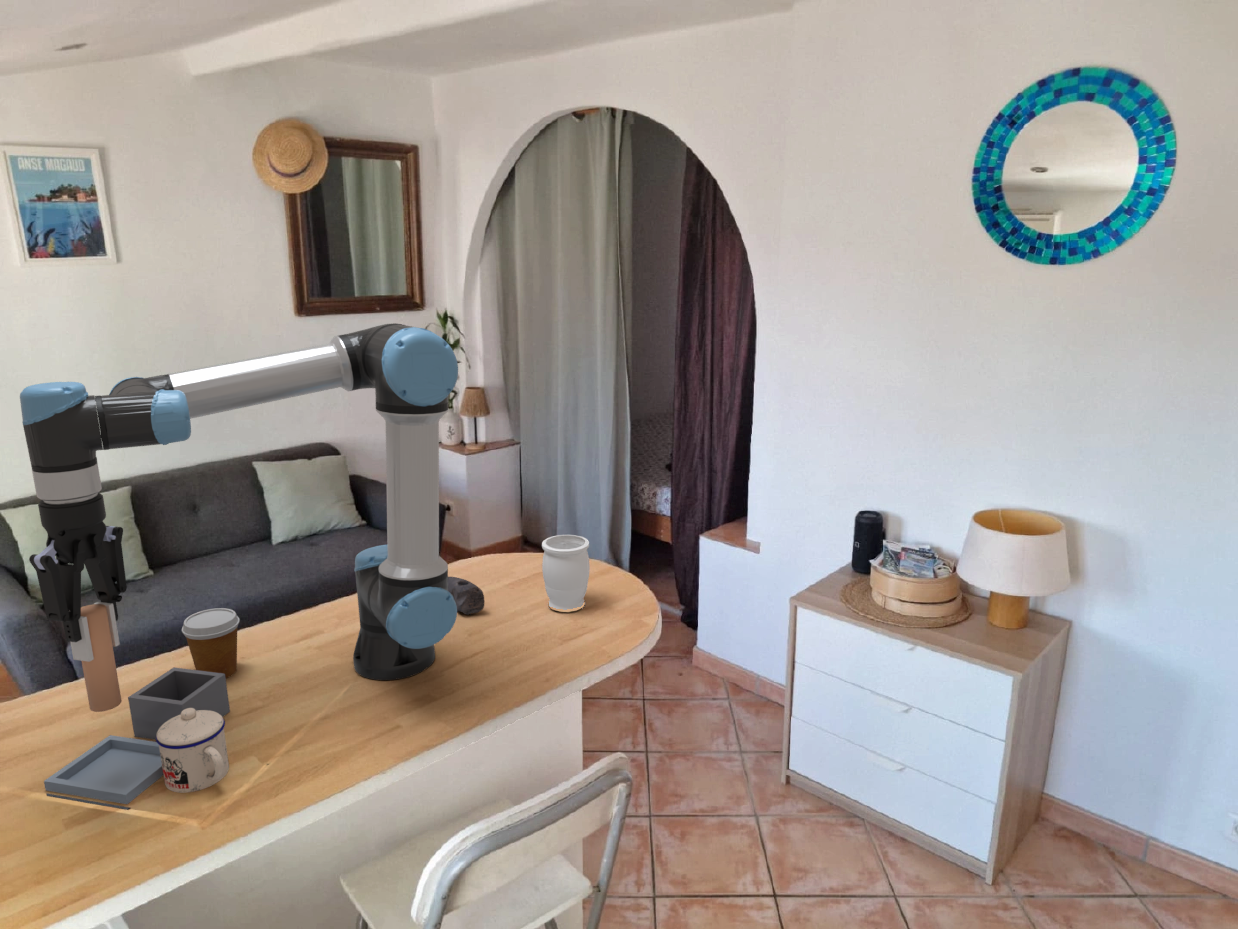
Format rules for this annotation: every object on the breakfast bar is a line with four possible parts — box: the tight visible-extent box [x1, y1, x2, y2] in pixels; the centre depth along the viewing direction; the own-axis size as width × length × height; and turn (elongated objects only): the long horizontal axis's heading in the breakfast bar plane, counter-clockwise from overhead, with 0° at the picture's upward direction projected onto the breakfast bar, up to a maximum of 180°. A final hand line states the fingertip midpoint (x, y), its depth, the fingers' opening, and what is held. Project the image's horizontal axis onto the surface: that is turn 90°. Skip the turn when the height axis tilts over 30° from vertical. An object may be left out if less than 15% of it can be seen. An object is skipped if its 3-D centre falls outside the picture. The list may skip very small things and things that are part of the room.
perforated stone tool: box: [448, 576, 486, 615], centre depth 183 cm, size 15×5×7 cm, turn 41°
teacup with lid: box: [155, 708, 230, 793], centre depth 122 cm, size 12×9×12 cm
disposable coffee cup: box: [181, 607, 240, 679], centre depth 153 cm, size 10×10×12 cm
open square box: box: [127, 667, 231, 741], centre depth 137 cm, size 10×10×8 cm
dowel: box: [81, 603, 122, 713], centre depth 120 cm, size 4×4×15 cm
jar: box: [541, 534, 590, 610], centre depth 183 cm, size 11×10×15 cm
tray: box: [43, 734, 164, 811], centre depth 125 cm, size 14×12×2 cm
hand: (97, 651), depth 120 cm, fingers closed on dowel, 4 cm apart
